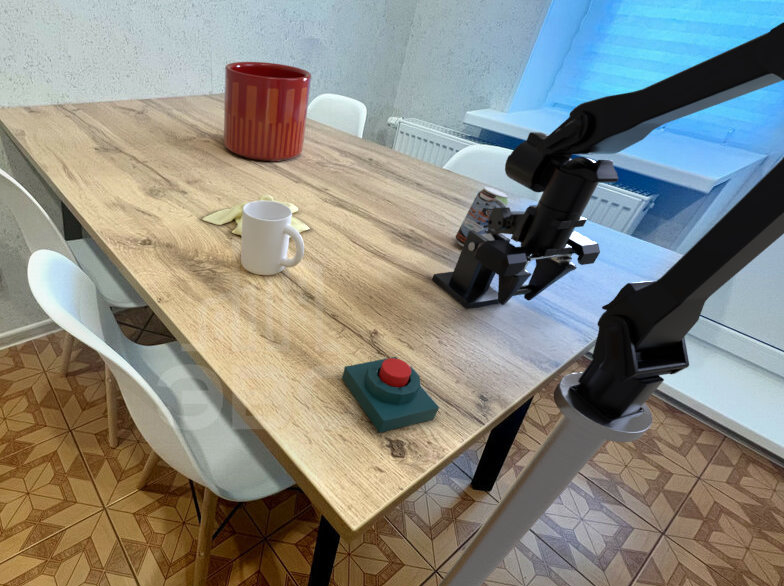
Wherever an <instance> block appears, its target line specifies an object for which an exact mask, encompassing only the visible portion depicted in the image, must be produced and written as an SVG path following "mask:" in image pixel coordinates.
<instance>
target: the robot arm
mask: <svg viewBox="0 0 784 586" xmlns="http://www.w3.org/2000/svg"><path fill="white" fill-rule="evenodd" d="M783 81H784V22H781V23H780V24H778V25H776V26H775V27H773V28H771V29H770V30H769V31H767V32H766V33H764V34H762V35H759V36H757V37H754V38H752V39H750V40H748V41H746V42H744V43H741V44H739V45H737V46H735V47H733V48H730V49H728V50H726V51H724V52H721V53H719V54H717V55H715V56H712V57H710V58H708V59H706V60H704V61H701V62H699V63H697V64H695V65H693V66H691V67H688V68H686V69H684V70H682V71H679V72H678V73H674V74H672V75H671V76H668V77H666V78H664V79H661V80H659V81H657V82H655V83H653V84H651V85H648V86H646V87H644V88H642V89H638V90H634V91H630V92H625V93H619V94H612V95H607V96H602V97H600V98H595V99H591V100H589V101H585V102H582V103H580V104H578V105H577V106H575V107H574V108H573V109H572V110H571V111H570V112H569V114H568V115H569V117H568V118H566V119H565V120H564V121H563V122H562V123H561V124H559V126H557V127H556V128H555V129H554V130H553V131H552V132H551V133H549V134H546V133H543V132H539V131H538V132H535V131H531V132H529V133H528V136H527V138H526V140H525V141H522V142H521V143H520V144H519V145H517V146H516V147H515V148H514V149H513V150H512V152H511V154H509V155H508V156H507V158H506V160H505V165H504V172H505V175H506V176H507V177H508V178H509V179H510V180H512V181H514V182H516V183H517V184H519V185H522V186H523V187H525V188H527V189H528V190H531V191H532V192H534V193H542V194H541V195H540V198H539V200H538V203H537V204H533V205H532V204H531V205H529V206H527V207H526V209H525V210H514V211H513V210H512V211H511V208H510V207H509V206H508V207H507V206H506V208H503V207H497V208H493V210H492V212H491V214H490V216H489V219H488V228H489V229H494V234H499V233H501V234H502V235H511V237H510V240H512V241H514V242H515V243H520V245H519V246H515V245H514V244H512V243H510V242H507V241H506V240H504V239H501V240H492V241H485V242H483V243H481V244H479V246H478V248H477V251H476V253H475V256H474V258H475V259H476V260H478V261H479V262H481V263H482V264H483V265H485V266H486V267H488V268H489V269H490V270H492V271H493V272H495V275H497V276H498V287H497V288H498V289H497V292H498V302H499V303H500V304H499V305H502V306H504V305H506V304H507V303H508V302H509V301H510V300H511V299H512V298H513V297H514V296H513V295H514V294H515V293H516V292H517V290H518V289H519V288H520V287H521V286H522V285H525V283H526V282H527V280H529V282H528V284H532V285H533V286H534V291H533V292H532V293H529V294H523V295H524V296H523V298H524V299H525V300H526V301H528V302H529V301H532V300H533V299H535V298H536V297H537V296H538V295H540V294H541V293H542V292H544V291H545V290H547V289H548V288H549V287H550V286H552V285H553V284H554V283H556V282H557V281H559V280H560V279H562V278H564V277H565V276H566V275H568V274H569V273H571V272H572V271H575V270H577V268H578V266H577V265H576V264H574V263H573V262H571V261H572V259H573V258H572V256H573V255H576V256H578V257H577V259H576V260H577V264H578V265H581V266H585V265H593V264H595V263H596V261H597V258H599V255H600V254H601V250H600V244H599V243H598V242H595V241H594V240H593V239H590V238H588V237H587V236H584V235H583V234H580V233H579V232H577V231H575V229H576V228H582V227H584V226H585V224H586V222H587V221H588V219H587V218H585V217H583V216H582V215H583V213H584V212H585V209H586V208H587V206H588V204H589V202H590V201H591V198H592V196H593V194H594V193H595V191H596V189H597V187H598V185H599V184H606V183H607V184H608V183H609V184H610V183H611V184H612V183H617V182H618V181H619V176H618V172H617V170H616V169H615V167H614V160H612V159H598V160H596V161H595V160H593V159H590V158H588V157H585V155H586V156H587V155H589V156H593V155H615V154H619V153H620V152H622V151H624V150H626V149H627V148H630V147H631V146H634V145H635V144H637V143H639V142H642V141H643V140H644V139H645V138H646V137H647V136H648V135H650V134H651V133H652V132H653V131H654V130H656V129H657V128H659V127H661V126H663V125H665V124H668V123H671V122H673V121H676V120H679V119H681V118H684V117H688V116H689V115H694V114H695V113H697V112H701V111H704V110H706V109H709V108H712V107H714V106H717V105H721V104H723V103H725V102H729V101H731V100H734V99H736V98H739V97H742V96H745V95H748V94H750V93H752V92H755V91H758V90H761V89H764V88H766V87H769V86H772V85H775V84H778V83H780V82H783ZM573 155H576V156H577V155H581V156H578V157H574V158H572V156H573ZM583 155H584V156H583ZM783 235H784V156H783V157H782V158H781V159H780V160H779V161H778V162H777V163H776V164H775V165H774V166H773V167H772V168H771V169H770V170H769V171H768V172H767V173H765V175H764V176H763V177H762V178H761V179H760V180H759V181H758V182H757V183H756V184H755V185H754V186H753V187H752V188H751V189H750V190H749V191H747V193H746V194H744V195H743V197H741V199H739V200H738V202H736V203H735V204H734V205H733V206H732V207H731V209H729V210H728V211H727V212H726V213H725V214H724V215H723V216H722V217H721V218H720V219H718V221H717V222H716V223H715V224H714V225H713V226H712V227H711V228H710V229H709V230H708V231H707V232H706V233H705V234H704V235H703V236H702V237H701V238H700V239H698V240H697V242H696V243H694V245H692V246H691V248H689V250H688V251H687V252H686V253H685V254H683V255H682V256H681V258H679V259H678V260H677V261H676V262H675V263H674V264H673V265H672V266H671V267H670V268H669V269H668V270H667V271H666V272H665V273H664V274H663V275H662V276H661V277H660V278H658V279H657V280H648V281H639V282H638V281H635V282H628V283H626V284H625V285H623V286H622V287H621V289H620V290H619V291H618V293H617V295H616V296H614V298H613V299H612V300H611V301H609V303H607V304H605V305H602V307H601V309H602V310H604V312H603V313H602V314H601V316H600V317H599V319H598V322H597V327H598V333H597V336H596V340H595V344H594V348H593V352H592V356H591V358H592V360H591V361H590V362H589V364H588V365H587V367H586V368H585V369H584V371H583V372H582V373H583V374H582V375H581V377H580V378H579V379H578V382H579V383H580V384H576V385H572V386H571V387H570V388H569V390H570V391H571V392H572V393H573V394H575V395H576V396H577V397H578V398H579V399H581V400H582V401H583V402H584V403H585V404H586V405H588V406H589V407H590V408H591V409H592V410H593V411H595V412H596V413H597V414H598V415H599V416H601V417H602V418H603V419H604V420H605V421H607V422H609V423H612V422H615V421H619V420H622V419H625V418H629V417H632V416H635V415H639V414H642V413H643V412H644V409H643V408H642V407H641V406H642V405H643V404H644V403H645V404H646V402H647V401H648V399H649V398H650V397H651V396H652V395H653V393H654V392H655V391H656V390H657V389H658V388H659V387H660V386H661V384H663V382H664V381H665V379H664V378H663V377H662V376H663V375H664V376H665V375H675V374H678V373H679V372H681V371H683V370H685V369H687V368H689V367H690V361H689V355H688V349H687V344H686V335H687V334H688V333H689V332H690V331H691V329H692V328H693V327H694V326H695V325H696V324H697V323H698V321H699V319H700V317H701V314H702V312H703V309H704V306H705V303H706V302H707V301H708V299H709V298H710V297H711V296H712V295H714V294H715V293H716V292H717V291H719V289H720V288H722V287H724V285H726V284H727V283H728V282H729V281H730V280H731V279H733V278H734V277H735V276H736V275H737V274H738V273H739V272H741V271H742V270H743V269H744V268H745V267H746V266H748V265H749V264H750V263H751V262H753V260H755V259H756V258H758V256H759V255H761V254H762V253H763V252H764V251H765V250H766V249H768V248H769V247H770V246H771V245H772V244H774V243H775V242H776V241H777V240H778V239H779V238H781V237H782V236H783ZM531 261H535V267H534V269H533V272H532V273H531V272H529V271H528V270H526V269H527V267H528V265H529V264H530V263H531ZM529 278H530V279H529Z"/></svg>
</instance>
